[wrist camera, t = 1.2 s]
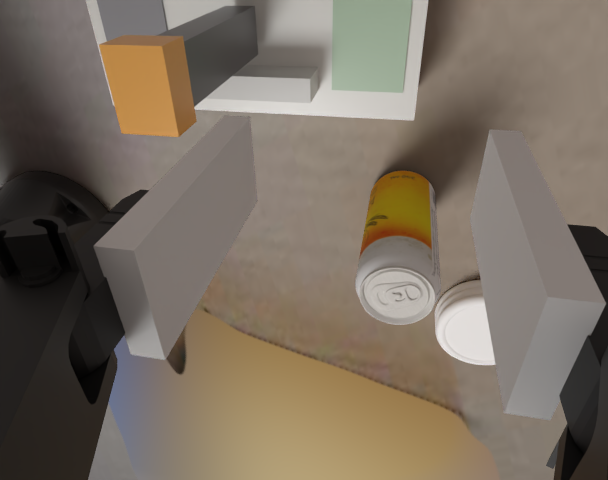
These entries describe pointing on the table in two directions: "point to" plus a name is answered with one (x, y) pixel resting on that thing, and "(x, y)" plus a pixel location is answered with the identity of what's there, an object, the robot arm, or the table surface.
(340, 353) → the table surface
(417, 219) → the beer can
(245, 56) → the lever
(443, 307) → the white short cylinder
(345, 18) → the breaker block
